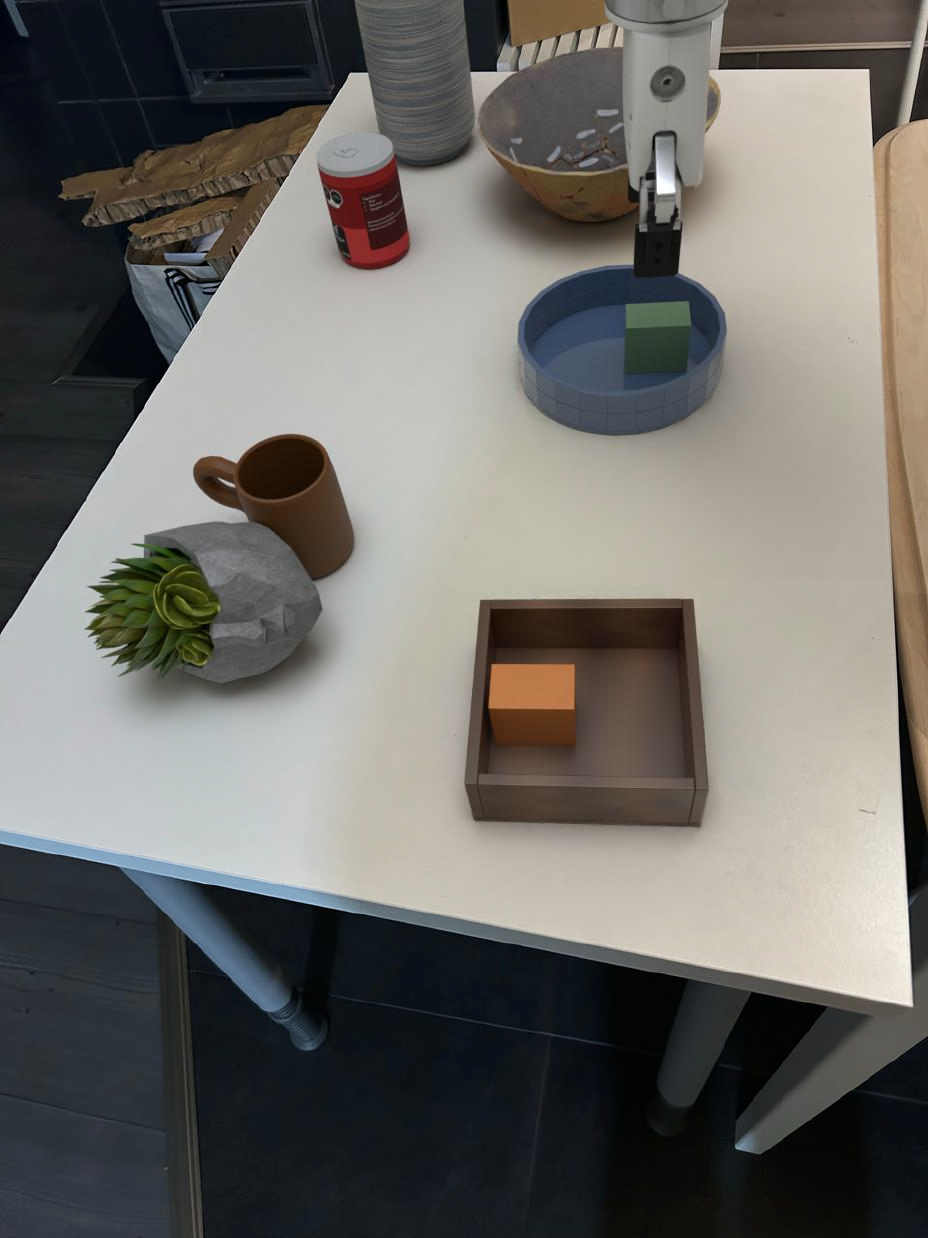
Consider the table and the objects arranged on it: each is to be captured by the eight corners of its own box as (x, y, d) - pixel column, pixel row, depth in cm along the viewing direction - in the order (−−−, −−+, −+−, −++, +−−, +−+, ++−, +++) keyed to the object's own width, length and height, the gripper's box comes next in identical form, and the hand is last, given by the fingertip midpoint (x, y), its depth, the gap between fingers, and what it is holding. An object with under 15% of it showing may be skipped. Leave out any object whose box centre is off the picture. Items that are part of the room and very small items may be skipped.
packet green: (684, 347, 85) (688, 300, 81) (686, 371, 83) (691, 325, 79) (623, 349, 86) (625, 303, 82) (624, 373, 84) (626, 328, 80)
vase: (433, 113, 117) (403, -106, 98) (497, 140, 111) (477, -88, 93) (364, 153, 113) (319, -67, 95) (426, 183, 107) (391, -45, 89)
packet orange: (576, 702, 64) (574, 664, 60) (575, 746, 62) (574, 709, 58) (498, 701, 65) (491, 663, 61) (495, 744, 63) (488, 708, 59)
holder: (687, 644, 67) (693, 598, 62) (700, 827, 59) (709, 790, 54) (487, 643, 69) (479, 599, 64) (473, 821, 61) (464, 784, 56)
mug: (205, 567, 76) (162, 489, 69) (242, 500, 81) (205, 419, 73) (337, 590, 73) (307, 510, 66) (369, 520, 77) (344, 437, 70)
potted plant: (346, 649, 65) (140, 744, 59) (297, 636, 76) (120, 714, 71) (282, 486, 62) (59, 569, 56) (241, 498, 74) (52, 568, 68)
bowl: (583, 116, 112) (582, 26, 104) (758, 175, 101) (772, 79, 93) (438, 214, 103) (425, 124, 95) (611, 290, 92) (613, 195, 84)
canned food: (347, 230, 104) (324, 132, 95) (416, 228, 102) (399, 128, 93) (332, 271, 99) (307, 172, 90) (404, 270, 98) (385, 169, 89)
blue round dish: (712, 300, 89) (717, 259, 85) (728, 431, 79) (735, 390, 75) (525, 309, 92) (522, 269, 88) (516, 438, 81) (513, 398, 78)
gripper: (746, 38, 51) (713, 304, 64) (716, -82, 60) (693, 170, 74) (608, 51, 51) (604, 310, 65) (601, -70, 61) (599, 177, 75)
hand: (651, 235), depth 70 cm, fingers open, 9 cm apart
